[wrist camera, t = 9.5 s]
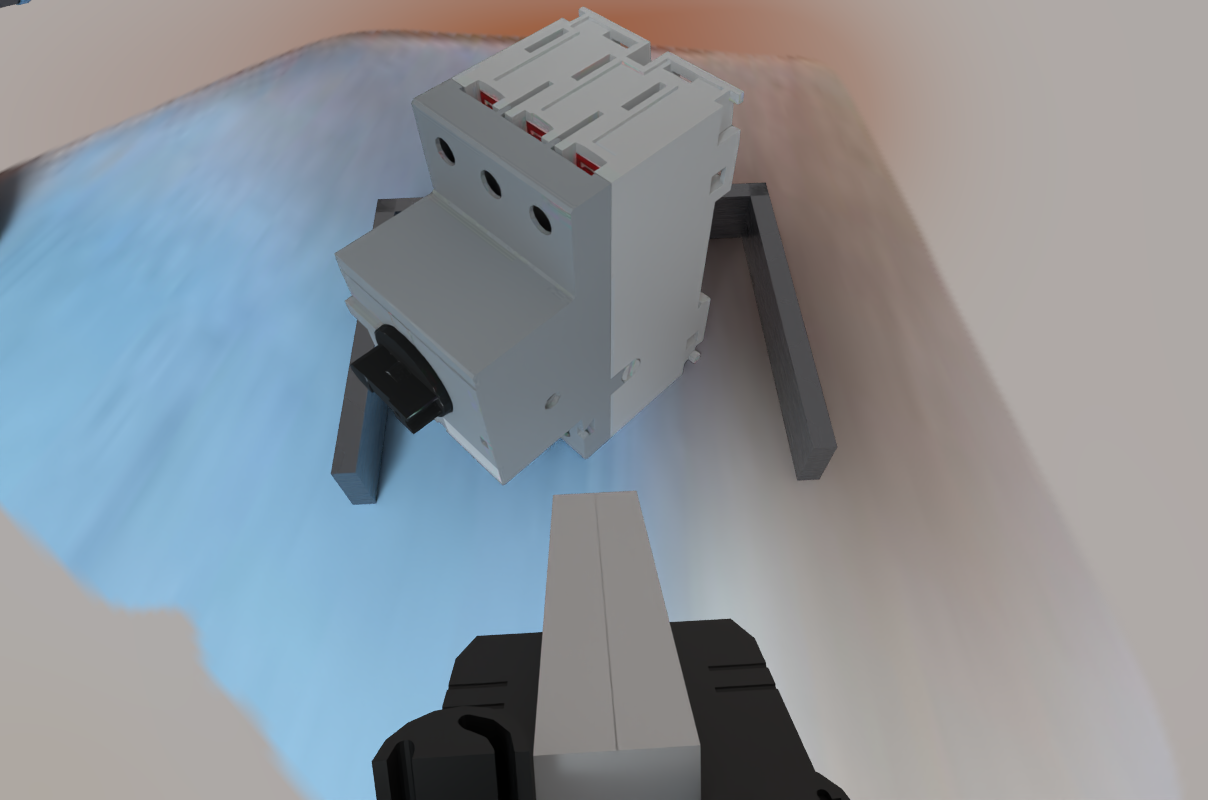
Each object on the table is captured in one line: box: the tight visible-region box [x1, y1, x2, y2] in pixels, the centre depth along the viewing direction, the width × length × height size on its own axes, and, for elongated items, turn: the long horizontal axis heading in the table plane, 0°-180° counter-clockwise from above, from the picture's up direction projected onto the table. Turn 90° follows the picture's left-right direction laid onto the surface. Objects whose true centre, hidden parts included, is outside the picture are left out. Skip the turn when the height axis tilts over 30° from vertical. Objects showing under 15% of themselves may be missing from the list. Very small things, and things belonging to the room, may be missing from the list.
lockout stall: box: [331, 183, 837, 505], centre depth 35 cm, size 17×21×3 cm
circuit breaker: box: [334, 7, 744, 485], centre depth 28 cm, size 8×14×15 cm, turn 136°
